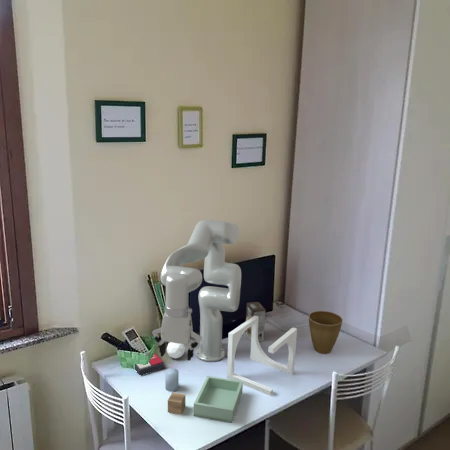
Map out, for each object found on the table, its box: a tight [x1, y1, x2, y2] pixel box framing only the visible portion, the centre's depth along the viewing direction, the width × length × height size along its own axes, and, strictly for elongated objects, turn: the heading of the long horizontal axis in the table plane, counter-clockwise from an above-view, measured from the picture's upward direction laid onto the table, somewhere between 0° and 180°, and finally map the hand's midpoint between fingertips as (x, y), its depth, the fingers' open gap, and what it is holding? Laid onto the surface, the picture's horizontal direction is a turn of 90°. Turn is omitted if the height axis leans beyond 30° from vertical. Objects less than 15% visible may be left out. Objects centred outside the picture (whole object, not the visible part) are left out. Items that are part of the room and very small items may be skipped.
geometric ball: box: [166, 342, 186, 359], centre depth 203 cm, size 8×8×8 cm
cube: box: [167, 392, 186, 416], centre depth 169 cm, size 5×5×5 cm
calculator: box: [134, 352, 165, 376], centre depth 198 cm, size 11×4×15 cm
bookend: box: [226, 316, 298, 397], centre depth 190 cm, size 20×20×20 cm
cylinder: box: [164, 367, 180, 393], centre depth 181 cm, size 5×5×7 cm
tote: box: [193, 375, 244, 424], centre depth 172 cm, size 18×14×5 cm
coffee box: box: [244, 301, 267, 342], centre depth 221 cm, size 9×6×16 cm
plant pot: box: [308, 310, 344, 355], centre depth 211 cm, size 15×15×16 cm
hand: (176, 356), depth 161 cm, fingers open, 9 cm apart
